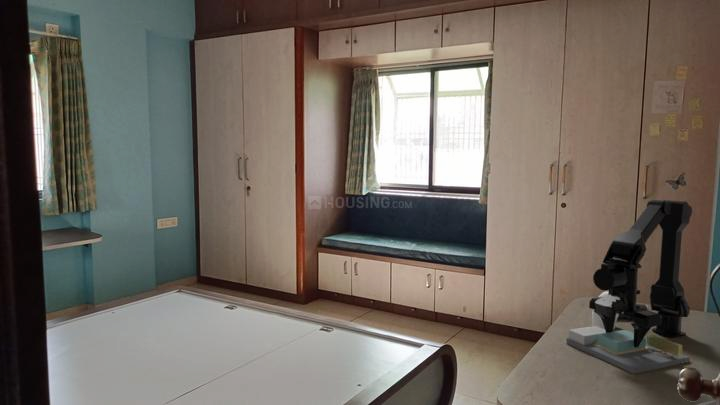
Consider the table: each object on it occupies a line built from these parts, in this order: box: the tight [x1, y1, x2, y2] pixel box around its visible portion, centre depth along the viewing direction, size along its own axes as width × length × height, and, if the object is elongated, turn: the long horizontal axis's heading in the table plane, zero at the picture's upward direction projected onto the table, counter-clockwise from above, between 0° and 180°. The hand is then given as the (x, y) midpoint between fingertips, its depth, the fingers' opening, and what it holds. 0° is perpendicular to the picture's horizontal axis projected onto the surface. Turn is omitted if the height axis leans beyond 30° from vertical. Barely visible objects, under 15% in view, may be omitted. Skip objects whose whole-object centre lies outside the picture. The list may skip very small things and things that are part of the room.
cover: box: [597, 329, 647, 353], centre depth 138 cm, size 10×7×3 cm, turn 112°
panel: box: [565, 325, 690, 375], centre depth 138 cm, size 20×22×4 cm
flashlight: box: [617, 303, 650, 320], centre depth 166 cm, size 15×5×5 cm, turn 78°
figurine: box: [591, 290, 619, 331], centre depth 157 cm, size 7×8×12 cm
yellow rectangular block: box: [646, 333, 683, 357], centre depth 133 cm, size 2×9×4 cm, turn 22°
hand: (622, 341), depth 138 cm, fingers open, 8 cm apart
